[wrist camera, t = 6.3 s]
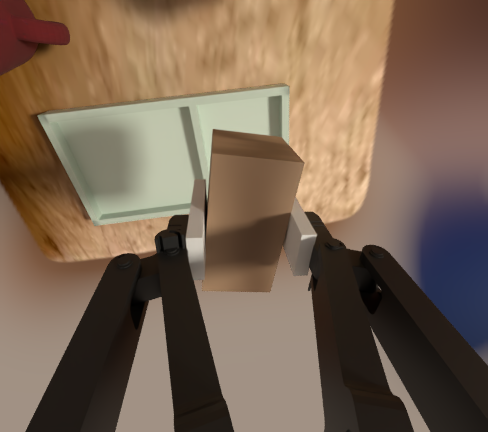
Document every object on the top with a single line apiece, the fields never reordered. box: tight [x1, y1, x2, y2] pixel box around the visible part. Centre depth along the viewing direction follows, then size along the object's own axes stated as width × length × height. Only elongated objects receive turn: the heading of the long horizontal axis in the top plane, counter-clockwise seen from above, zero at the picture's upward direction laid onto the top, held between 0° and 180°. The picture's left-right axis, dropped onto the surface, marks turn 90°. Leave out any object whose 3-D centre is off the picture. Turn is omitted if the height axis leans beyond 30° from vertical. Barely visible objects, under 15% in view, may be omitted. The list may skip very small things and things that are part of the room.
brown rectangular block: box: [202, 129, 304, 292], centre depth 17 cm, size 4×9×5 cm, turn 172°
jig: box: [37, 83, 289, 226], centre depth 31 cm, size 14×26×2 cm, turn 95°
